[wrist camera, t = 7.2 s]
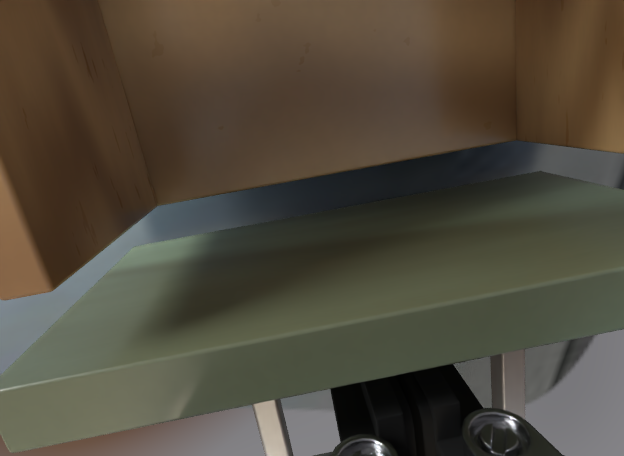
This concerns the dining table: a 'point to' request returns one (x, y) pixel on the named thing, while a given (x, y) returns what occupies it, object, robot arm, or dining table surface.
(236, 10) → the drawer
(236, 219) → the dining table surface
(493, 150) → the dining table surface
